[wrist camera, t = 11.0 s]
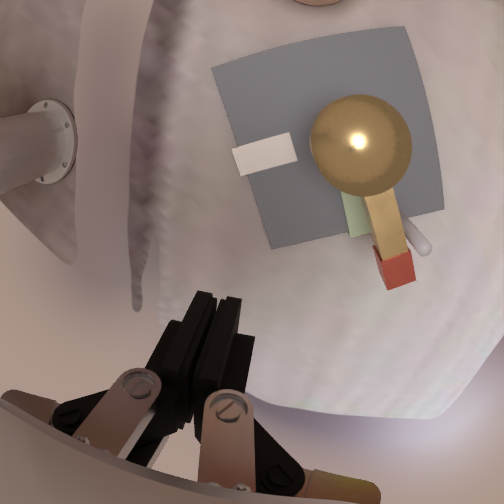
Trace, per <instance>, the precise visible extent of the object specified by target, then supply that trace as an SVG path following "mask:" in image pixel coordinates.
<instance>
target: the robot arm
mask: <svg viewBox="0 0 504 504" xmlns="http://www.w3.org/2000/svg"><path fill="white" fill-rule="evenodd" d="M77 143H78V136H77V128H76V124H75V121H74V118H73V116H72V114H71V112H70V111H69V109H68V108H67V107H66V106H65V105H64V104H63V103H61V102H59V101H57V100H53V99H50V100H42V101H39V102H37V103H36V104H34V105H33V106H32V107H31V108H30V109H29V110H28V112H27V113H24V114H19V115H13V116H8V117H3V118H0V195H2V194H4V193H6V192H8V191H10V190H12V189H14V188H17V187H19V186H21V185H23V184H26V183H28V182H30V181H33V180H35V181H37V182H39V183H41V184H52V183H55V182H57V181H59V180H61V179H63V178H64V177H65V176H66V175H67V174H68V172H69V171H70V169H71V167H72V165H73V163H74V160H75V157H76V152H77V145H78V144H77ZM241 302H242V299H239V298H234V297H229V296H227V298H226V300H224V299H221V300H220V303H219V305H218V308H217V298H213V295H212V293H208V292H203V291H197V293H196V294H195V296H194V298H193V300H192V302H191V304H190V306H189V308H188V310H187V312H186V314H185V316H184V318H183V320H182V322H180V321H176V320H171V321H170V322H169V323H168V325H167V327H166V329H165V331H164V333H163V335H162V336H161V338H160V341H159V342H158V344H157V346H156V348H155V350H154V352H153V353H152V355H151V357H150V359H149V361H148V363H147V365H146V367H145V368H134V369H130V370H128V371H126V372H124V373H123V374H122V375H121V376H120V377H119V378H118V379H117V380H116V382H115V383H114V384H113V385H112V386H111V388H110V389H108V390H105V391H102V392H98V393H95V394H92V395H88V396H85V397H81V398H78V399H74V400H71V401H67V402H64V403H62V404H58V403H57V402H56V400H51V399H48V398H44V397H39V396H36V395H32V394H29V393H25V392H22V391H19V390H9V391H6V392H5V393H4V394H3V395H2V396H1V398H0V504H380V501H381V492H380V490H379V488H378V487H377V486H376V485H375V484H374V483H372V482H369V481H366V480H361V479H355V478H350V477H346V476H341V475H336V474H332V473H328V472H324V471H320V470H316V469H314V470H313V471H311V470H307V469H304V468H302V467H301V466H300V465H299V464H298V463H297V462H296V461H295V460H294V459H293V458H292V457H291V456H290V455H289V454H288V453H287V452H286V451H285V450H284V449H283V448H282V447H281V446H280V445H279V444H278V443H277V442H276V441H275V440H274V439H273V438H272V437H271V435H270V434H269V433H268V432H267V431H266V430H265V429H264V428H263V427H262V426H261V425H260V424H259V423H258V422H257V421H256V420H255V418H254V413H253V405H252V403H251V401H250V400H249V398H248V397H246V395H244V392H245V388H246V382H247V377H248V372H249V367H250V362H251V356H252V351H253V345H254V340H255V336H249V335H244V334H238V333H237V332H238V325H239V317H240V310H241ZM216 309H217V311H216ZM193 414H194V425H195V426H194V427H195V437H196V438H197V440H198V441H199V443H200V444H201V446H200V457H199V468H198V481H197V482H196V481H191V480H187V479H184V478H180V477H176V476H173V475H169V474H165V473H162V472H159V471H156V470H153V469H151V468H152V466H153V464H154V462H155V461H156V459H157V458H158V456H159V454H160V452H161V451H162V449H163V447H164V445H165V443H166V442H167V440H168V438H169V435H170V434H172V433H175V432H177V430H178V428H179V429H183V427H184V424H185V422H186V423H190V422H191V420H192V417H193Z"/></svg>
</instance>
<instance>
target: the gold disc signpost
mask: <svg viewBox="0 0 504 504" xmlns="http://www.w3.org/2000/svg"><path fill="white" fill-rule="evenodd" d="M309 141H310V149H311V152H312V155H313V158H314V160H315V162H316V165H317V167H318V169H319V171H320V172H321V174H322V175H323V176H324V178H325V179H326V180H327V181H328V182H329V183H330V184H331V185H333V186H334V187H335V188H337V189H338V190H340V191H342V192H344V193H347V194H350V195H354V196H360V198H361V201H362V204H363V208H364V211H365V214H366V217H367V221H368V224H369V227H370V231H371V234H372V238H373V241H374V246H373V250H374V253H375V257H376V261H377V265H378V269H379V272H380V275H381V277H382V279H383V281H384V284H385V286H386V288H387V291H388V290H390V289H393V288H396V287H399V286H402V285H404V284H407V283H410V282H413V281H415V280H416V277H415V272H414V266H413V260H412V255H411V251H410V250H409V248H408V247H407V243H406V238H405V234H404V229H403V225H402V221H401V217H400V213H399V209H398V205H397V201H396V198H395V194H394V190H393V186H395V185H396V184H397V183H398V182H399V181H400V180H401V179H402V177H403V176H404V174H405V173H406V171H407V169H408V166H409V164H410V160H411V156H412V139H411V135H410V131H409V128H408V126H407V124H406V122H405V120H404V119H403V117H402V116H401V114H400V113H399V112H398V111H397V110H396V109H395V108H394V107H393V106H392V105H390V104H389V103H387V102H386V101H384V100H382V99H380V98H377V97H374V96H370V95H362V94H357V95H350V96H346V97H342V98H339V99H336V100H334V101H332V102H330V103H328V104H327V105H326V106H324V107H323V108H322V109H321V110H320V111H319V112H318V114H317V115H316V117H315V119H314V121H313V123H312V126H311V129H310V137H309Z"/></svg>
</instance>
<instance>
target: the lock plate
mask: <svg viewBox="0 0 504 504" xmlns="http://www.w3.org/2000/svg"><path fill="white" fill-rule="evenodd" d="M211 69H212V72H213V75H214V78H215V81H216V84H217V86H218V89H219V92H220V95H221V98H222V101H223V104H224V107H225V110H226V113H227V115H228V118H229V121H230V124H231V127H232V130H233V133H234V136H235V139H236V142H237V145H238V147H236V148H233V149H232V152H233V155H234V158H235V161H236V164H237V167H238V170H239V173H240V176H244V175H248V178H249V181H250V184H251V187H252V190H253V193H254V196H255V199H256V203H257V206H258V209H259V212H260V215H261V218H262V221H263V224H264V227H265V230H266V234H267V237H268V240H269V243H270V246H271V249H276V248H280V247H284V246H289V245H293V244H297V243H302V242H306V241H310V240H315V239H319V238H323V237H327V236H332V235H336V234H340V233H345V232H349V234H350V238H352V237H357V236H361V235H365V234H369V233H371V231H370V227H369V224H368V221H367V217H366V214H365V211H364V208H363V204H362V201H361V198H360V196H354V195H350V194H347V193H344V192H342V191H340V190H338V189H337V188H335V187H334V186H333V185H331V184H330V183H329V182H328V181H327V180H326V179H325V178H324V176H323V175H322V174H321V172H320V171H319V169H318V167H317V165H316V162H315V160H314V158H313V155H312V152H311V149H310V141H309V137H310V129H311V126H312V123H313V121H314V119H315V117H316V115H317V114H318V112H319V111H320V110H321V109H322V108H323V107H324V106H326V105H327V104H328V103H330V102H332V101H334V100H336V99H339V98H342V97H346V96H350V95H357V94H362V95H370V96H374V97H377V98H380V99H382V100H384V101H386V102H387V103H389V104H390V105H392V106H393V107H394V108H395V109H396V110H397V111H398V112H399V113H400V114H401V116H402V117H403V119H404V120H405V122H406V124H407V126H408V128H409V131H410V135H411V139H412V156H411V160H410V164H409V166H408V169H407V171H406V173H405V174H404V176H403V177H402V179H401V180H400V181H399V182H398V183H397V184H396V185H395V186H393V190H394V194H395V198H396V201H397V205H398V209H399V213H400V217H401V221H402V225H403V229H404V234H405V237H406V238H407V239H408V240H409V242H410V243H411V244H412V246H413V247H414V248H415V250H416V251H417V252H418V254H419V255H420V256H423V257H424V256H427V255H429V254H430V252H431V251H432V245H431V243H430V242H429V241H428V240H427V238H426V237H425V236H424V235H423V234H422V233H421V232H420V231H419V230H418V228H417V227H416V226H415V225H414V224H413V223H412V222H411V221H410V220H409V219H408V218H409V217H413V216H418V215H422V214H426V213H430V212H435V211H439V210H443V209H444V197H443V187H442V179H441V171H440V163H439V157H438V150H437V144H436V139H435V133H434V128H433V123H432V118H431V114H430V109H429V105H428V101H427V97H426V93H425V89H424V85H423V81H422V78H421V74H420V71H419V67H418V64H417V61H416V58H415V55H414V52H413V49H412V46H411V43H410V40H409V37H408V34H407V32H406V29H405V26H403V27H389V28H379V29H370V30H362V31H355V32H348V33H342V34H336V35H330V36H325V37H320V38H315V39H310V40H305V41H301V42H297V43H292V44H288V45H284V46H280V47H277V48H273V49H269V50H266V51H262V52H259V53H256V54H252V55H249V56H246V57H243V58H240V59H237V60H234V61H231V62H228V63H225V64H222V65H219V66H216V67H214V68H211Z"/></svg>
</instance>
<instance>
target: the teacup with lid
mask: <svg viewBox="0 0 504 504" xmlns="http://www.w3.org/2000/svg"><path fill="white" fill-rule="evenodd" d="M295 1H298V2H300V3H304V4H308V5H315V6H323V5H330V4H333V3H336V2H338V1H340V0H295Z"/></svg>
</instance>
